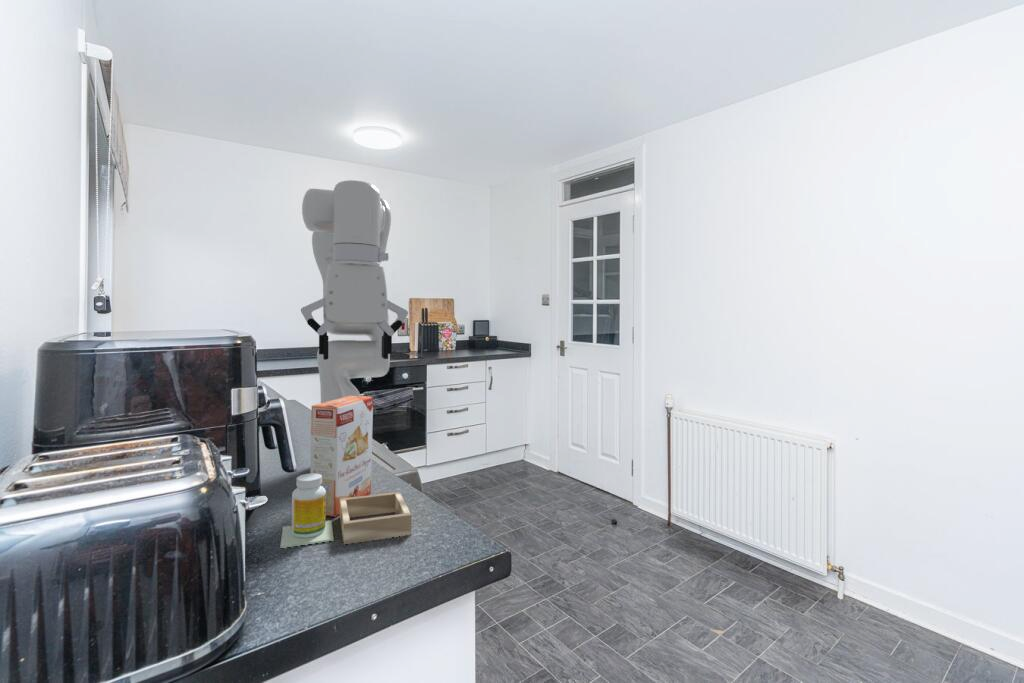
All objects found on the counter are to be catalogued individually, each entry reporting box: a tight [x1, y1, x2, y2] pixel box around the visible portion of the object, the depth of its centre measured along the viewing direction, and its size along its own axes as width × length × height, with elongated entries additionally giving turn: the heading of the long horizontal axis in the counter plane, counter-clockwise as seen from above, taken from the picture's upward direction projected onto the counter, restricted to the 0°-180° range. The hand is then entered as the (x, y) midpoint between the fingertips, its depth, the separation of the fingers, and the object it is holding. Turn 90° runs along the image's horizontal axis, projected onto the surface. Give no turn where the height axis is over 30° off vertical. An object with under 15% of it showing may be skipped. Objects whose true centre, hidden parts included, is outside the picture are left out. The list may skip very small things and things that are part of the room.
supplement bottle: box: [291, 473, 327, 538], centre depth 82 cm, size 5×5×10 cm
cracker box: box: [309, 395, 374, 518], centre depth 96 cm, size 14×6×21 cm, turn 168°
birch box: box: [339, 491, 412, 546], centre depth 86 cm, size 12×11×4 cm
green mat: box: [279, 520, 334, 549], centre depth 82 cm, size 8×8×1 cm
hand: (355, 358), depth 82 cm, fingers open, 9 cm apart
